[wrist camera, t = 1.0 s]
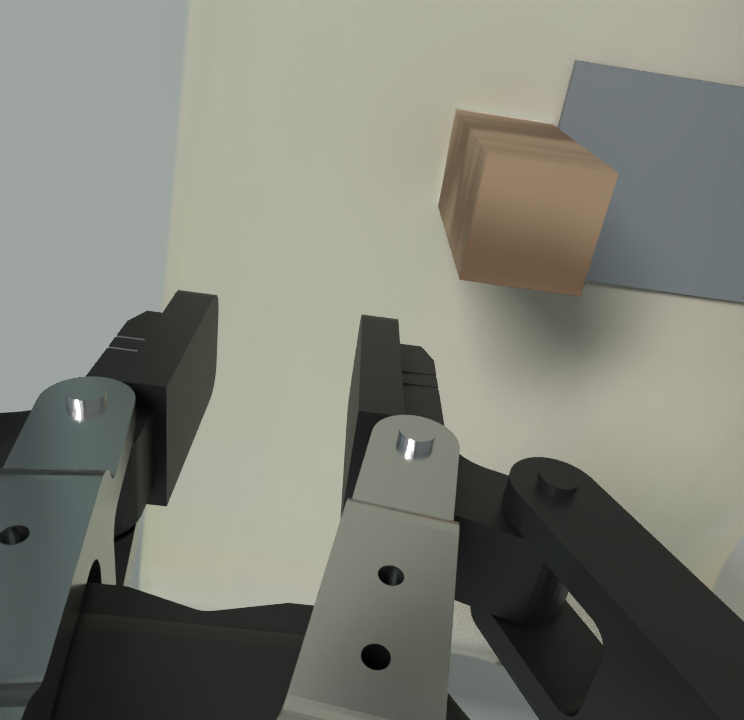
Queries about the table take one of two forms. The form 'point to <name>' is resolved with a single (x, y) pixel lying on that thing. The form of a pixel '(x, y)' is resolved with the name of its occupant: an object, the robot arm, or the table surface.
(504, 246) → the walnut block
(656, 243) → the rubber mat
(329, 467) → the table surface
